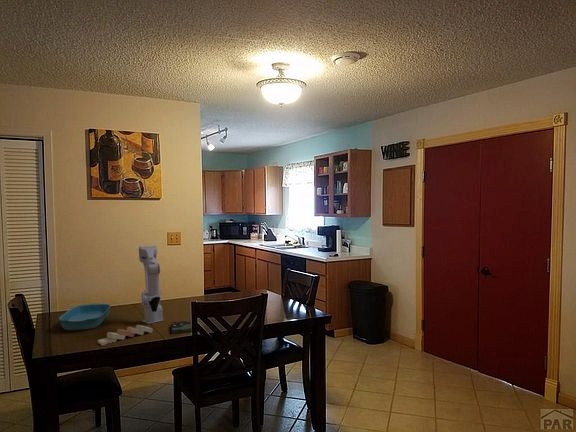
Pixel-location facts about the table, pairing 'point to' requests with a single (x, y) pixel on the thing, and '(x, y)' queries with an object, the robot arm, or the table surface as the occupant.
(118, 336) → the domino
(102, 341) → the domino
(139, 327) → the domino
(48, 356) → the table surface
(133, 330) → the domino
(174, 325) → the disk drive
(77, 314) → the casserole dish
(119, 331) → the domino
